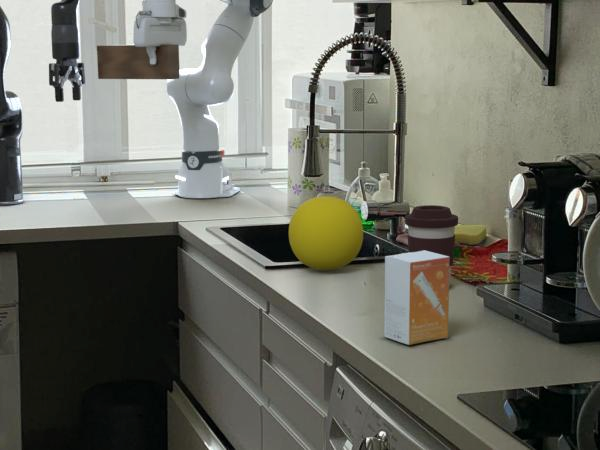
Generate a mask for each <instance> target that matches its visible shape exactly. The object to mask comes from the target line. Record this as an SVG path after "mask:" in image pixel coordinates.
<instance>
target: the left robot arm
mask: <svg viewBox="0 0 600 450" xmlns="http://www.w3.org/2000/svg"><path fill="white" fill-rule="evenodd" d="M79 3H80V0H60V1H58V2H57V1H56V2H54V3H52V4H51V7H50V15H51V16H50V17H51V31H50V37H51V38H50V39H51V56H52V59H53V60H56V61H55V62H54V63H53V62H50V63H48V84H49V86H51V87H53V88H54V99H55V102H56V103H62V102H64V101H65V95H64V94H65V93H64V86H65V85H64V84H65V83H66V82H67V81H69V82H70V84H71V85H72V87H71V89H72V90H71V91H72V92H71V93H72V94H71V95H72V100H73V101H81V99H82V92H81V91H82V90H81V87H82V86H83V85H85V84H86V72H85V63H84V62H78V60H79V59H81V43H80V42H81V39H80V29H79V15H78V8H79V5H80V4H79ZM10 24H11V23H10V21H9V18H8V15H6V12H5V11H4V9H3V8H2V6H1V5H0V206H11V205H21V204H23V203H24V202H25V201H24V199H25V198H24V187H23V170H22V169H23V168H22V167H23V166H22V151H21V139H22V135H23V105H22V101H21V99H20V97H19V95H17V94H16V93H14V92H13V91H10V90H6V86H5V72H6V67H7V63H8V60H9V56H10V53H11V48H12V35H11V25H10Z"/></svg>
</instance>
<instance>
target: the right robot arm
mask: <svg viewBox="0 0 600 450" xmlns="http://www.w3.org/2000/svg"><path fill="white" fill-rule="evenodd" d="M176 1H177V0H141V7H142V8H141V9H142V10H139V11H138V12H137V14H136V15H135V20H134V23H133V32H132V33H133V36H132V37H133V38H132V40H133V41H132V42H133V45H135V46H136V47H146V51H147V53H148V56H149V58H150V64H158V57H156V54H155V51H156V46H160V45H176V44H178V45H179V47H185V45H186V44H187V41H188V40H187V38H188V34H187V33H188V32H187V31H188V29H187V22H186V20H185V19H186V18H187V10H186V9H185V8H182V6H179V4H177V2H176ZM220 2H223V3H225V4H227V6H226V7H225V8H224V9H223V11H222V12H221V13H220V15H218V17H217V19H216V20H215V22H214V23H213V25H212V27H211V29H210V30H209V32H208V34H207V36H206V38H205V40H204V41H203V43H202V44H201V53H202V55H203V59H202V63H201V64H200V66H199V67H198V68H183V69H179V70H180V79H166V84H165V88H166V93H167V95H168V97H169V98H170V99H171V100H172V101H173V103H174V105H175V107H176V110H177V112H178V116H179V120H180V123H181V130H182V150H181V162H182V164H181V166H180V167H179V169H178V175H175V176H174V177H175V179H177V190H175V191H174V195H175V196H179V197H181V198H185V199H186V198H187V199H214V198H229V197H232V196H234V195H235V194H237V193H239V192H240V187H237V186H233V176H232V172H231V171H230V170H229V169H228V168H227V166H226V165H225V164H224V163H223V157H225V155H226V151H225V150H224V149H220V129H219V124H218V122H217V121H216V120H215V119H214V117H213V115H212V113H211V111H210V107H209V106H212V107H213V106H218V105H222V104H225V103H227V102H229V101H230V100H231V98H232V97H233V95H234V92H235V83H234V80H233V77H232V72H233V68H234V64H235V62H236V61H237V58H238V56H239V54H240V52H241V51H242V49H243V47H244V45H245V43H246V41H247V40H248V37H249V35H250V32H251V29H252V26H253V23H254V19H255V18H257V17H259V16H260V15H261V14H263V13H265V12H266V11H267V10H268V9H269V8H270V7H271V5H272V4H273V2H274V0H220Z"/></svg>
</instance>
